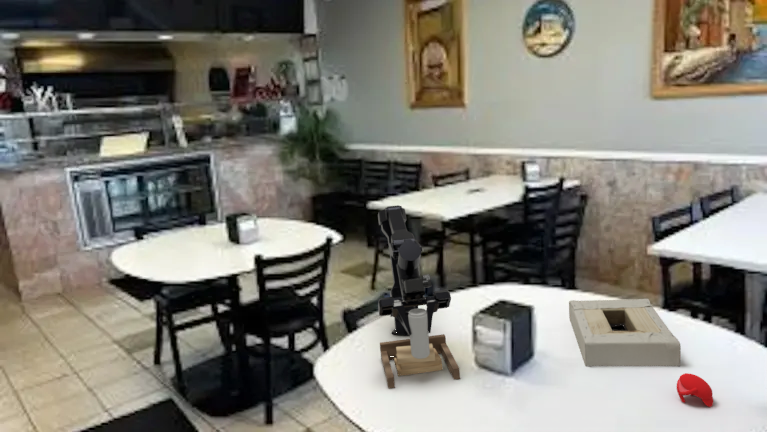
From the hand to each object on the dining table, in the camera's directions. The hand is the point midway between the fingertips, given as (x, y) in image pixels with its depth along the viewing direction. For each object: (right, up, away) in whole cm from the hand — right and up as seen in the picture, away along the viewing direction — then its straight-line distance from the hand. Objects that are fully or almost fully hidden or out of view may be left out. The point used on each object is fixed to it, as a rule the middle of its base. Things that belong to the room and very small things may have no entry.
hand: (419, 333), depth 150 cm
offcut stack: (0, -11, +11) cm, 16 cm away
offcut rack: (0, -11, +10) cm, 15 cm away
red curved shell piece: (+61, -12, -17) cm, 64 cm away
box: (+57, -6, +16) cm, 59 cm away
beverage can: (0, -6, +3) cm, 7 cm away
